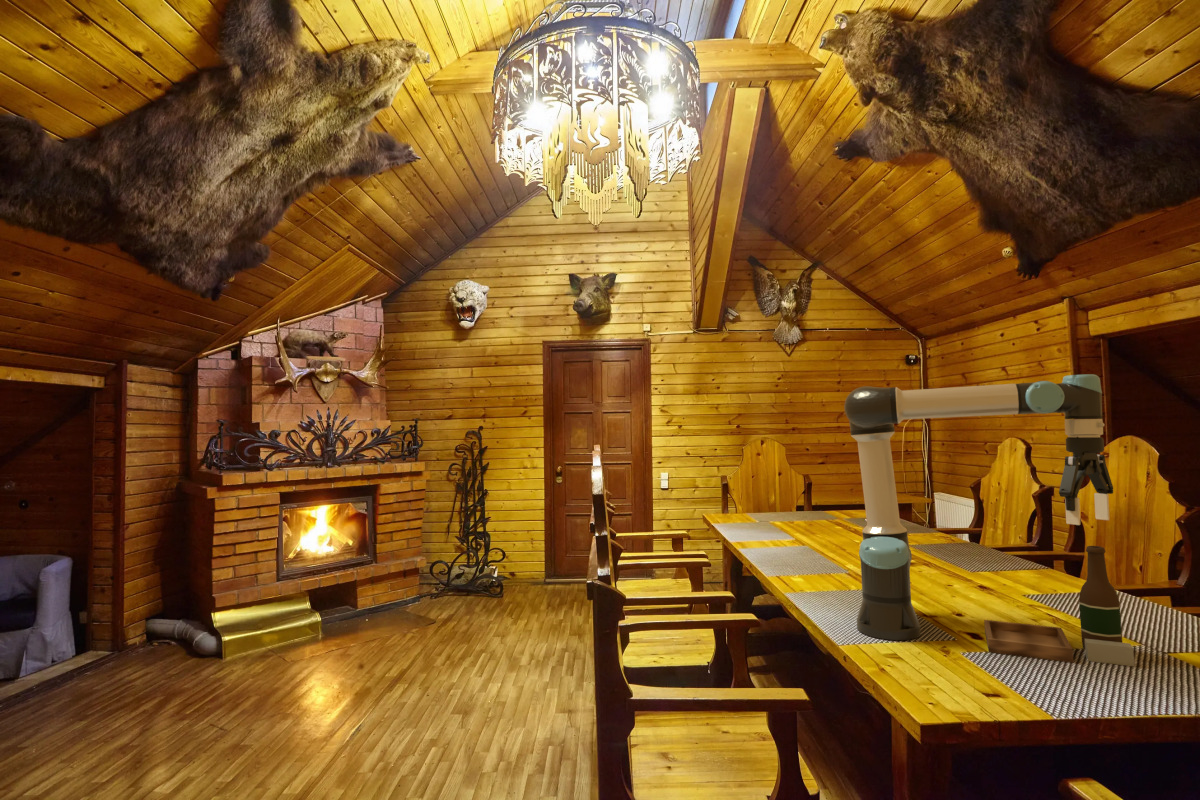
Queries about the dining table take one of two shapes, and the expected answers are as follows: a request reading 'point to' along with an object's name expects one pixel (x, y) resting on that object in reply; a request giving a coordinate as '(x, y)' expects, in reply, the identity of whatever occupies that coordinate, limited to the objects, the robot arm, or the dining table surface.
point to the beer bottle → (1099, 601)
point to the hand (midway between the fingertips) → (1088, 522)
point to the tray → (1028, 640)
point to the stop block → (1109, 652)
